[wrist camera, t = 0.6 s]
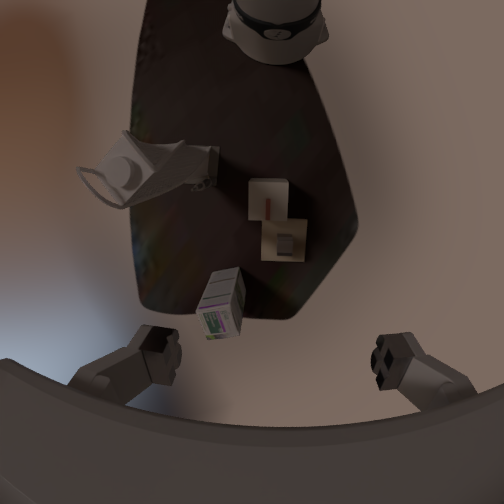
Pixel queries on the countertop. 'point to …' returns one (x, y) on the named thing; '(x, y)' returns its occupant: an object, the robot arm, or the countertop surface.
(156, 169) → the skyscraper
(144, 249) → the countertop surface
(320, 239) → the countertop surface
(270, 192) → the knob
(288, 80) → the countertop surface
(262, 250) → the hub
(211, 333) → the syrup box
